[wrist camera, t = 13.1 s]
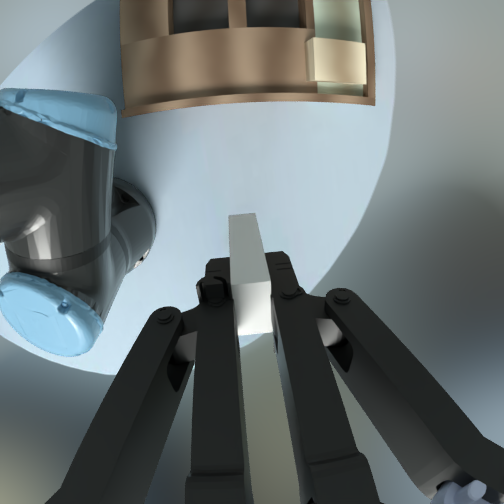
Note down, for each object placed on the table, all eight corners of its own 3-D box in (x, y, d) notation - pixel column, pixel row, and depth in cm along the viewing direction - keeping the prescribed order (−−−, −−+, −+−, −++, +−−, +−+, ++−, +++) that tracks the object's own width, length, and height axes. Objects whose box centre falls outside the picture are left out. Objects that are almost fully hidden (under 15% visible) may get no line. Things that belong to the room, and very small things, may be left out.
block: (305, 81, 30) (314, 80, 27) (304, 42, 28) (313, 37, 24) (352, 84, 30) (366, 84, 27) (351, 47, 28) (365, 43, 25)
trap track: (135, 114, 34) (121, 118, 29) (129, -3, 25) (116, -15, 20) (357, 103, 35) (375, 105, 31) (351, -11, 26) (367, -22, 22)
